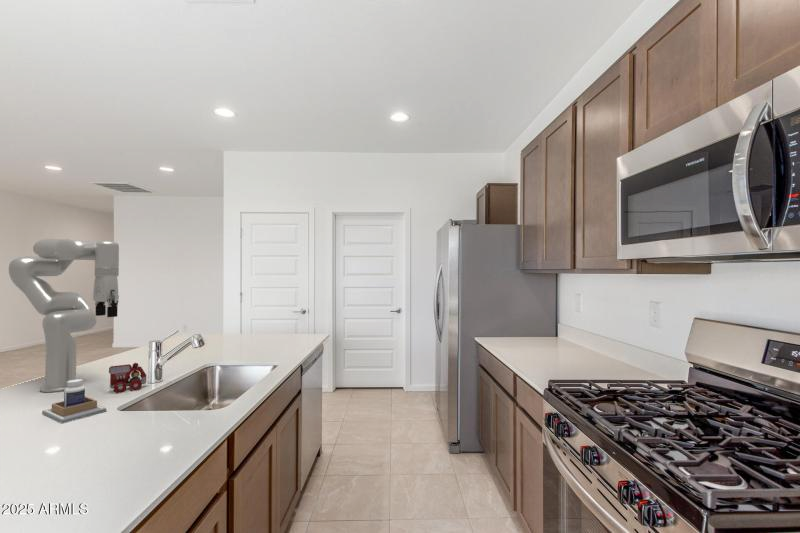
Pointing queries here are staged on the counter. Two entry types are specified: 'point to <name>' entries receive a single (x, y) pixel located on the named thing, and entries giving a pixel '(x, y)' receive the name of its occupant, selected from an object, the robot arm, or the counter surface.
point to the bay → (73, 410)
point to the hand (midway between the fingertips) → (106, 316)
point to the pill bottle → (74, 393)
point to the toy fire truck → (126, 377)
